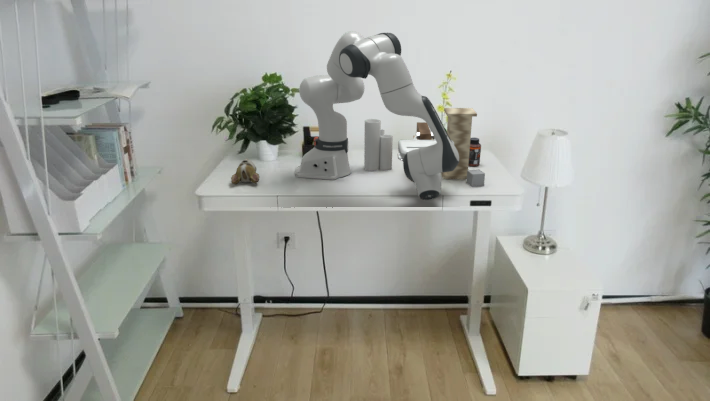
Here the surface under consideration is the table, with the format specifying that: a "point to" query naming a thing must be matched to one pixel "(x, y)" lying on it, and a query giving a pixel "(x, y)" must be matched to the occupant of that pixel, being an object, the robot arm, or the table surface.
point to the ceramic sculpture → (245, 173)
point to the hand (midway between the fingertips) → (425, 133)
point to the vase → (377, 147)
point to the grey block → (475, 178)
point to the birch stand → (459, 138)
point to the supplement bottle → (474, 152)
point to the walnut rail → (424, 131)
